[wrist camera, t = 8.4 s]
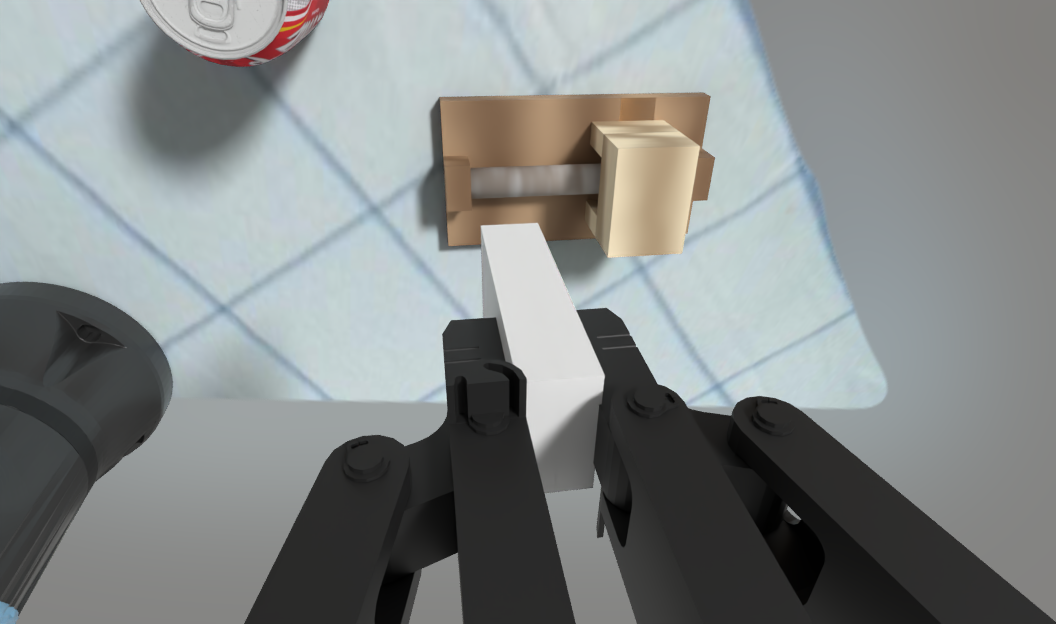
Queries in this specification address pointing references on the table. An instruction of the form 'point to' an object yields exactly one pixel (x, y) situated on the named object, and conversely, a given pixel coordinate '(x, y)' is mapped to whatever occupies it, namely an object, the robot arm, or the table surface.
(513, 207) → the rail
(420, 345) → the table surface
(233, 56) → the soda can
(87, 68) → the table surface
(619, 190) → the collar
